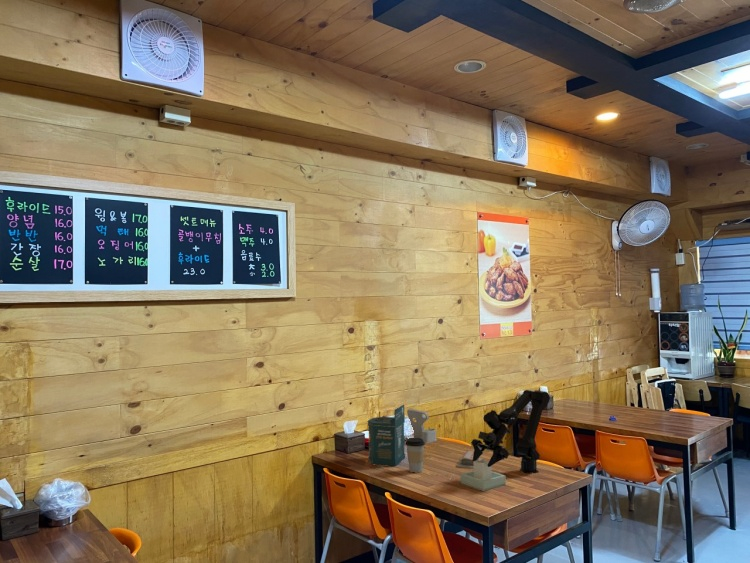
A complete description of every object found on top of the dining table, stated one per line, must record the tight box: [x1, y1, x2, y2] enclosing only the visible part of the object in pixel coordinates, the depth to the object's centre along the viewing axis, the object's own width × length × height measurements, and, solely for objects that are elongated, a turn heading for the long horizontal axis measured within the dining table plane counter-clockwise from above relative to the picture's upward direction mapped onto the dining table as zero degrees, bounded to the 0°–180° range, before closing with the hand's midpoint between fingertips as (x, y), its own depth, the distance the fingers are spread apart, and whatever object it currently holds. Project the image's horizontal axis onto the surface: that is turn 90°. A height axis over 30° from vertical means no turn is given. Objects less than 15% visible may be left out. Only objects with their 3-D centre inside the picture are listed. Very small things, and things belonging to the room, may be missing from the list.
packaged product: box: [456, 450, 483, 470], centre depth 285 cm, size 18×5×10 cm
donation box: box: [367, 404, 406, 467], centre depth 291 cm, size 16×16×28 cm
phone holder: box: [406, 408, 438, 444], centre depth 336 cm, size 17×10×18 cm, turn 41°
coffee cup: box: [404, 438, 426, 474], centre depth 273 cm, size 9×9×15 cm
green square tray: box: [459, 470, 507, 492], centre depth 252 cm, size 14×14×4 cm
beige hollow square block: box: [473, 458, 493, 480], centre depth 252 cm, size 6×6×9 cm
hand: (480, 464), depth 252 cm, fingers open, 9 cm apart
